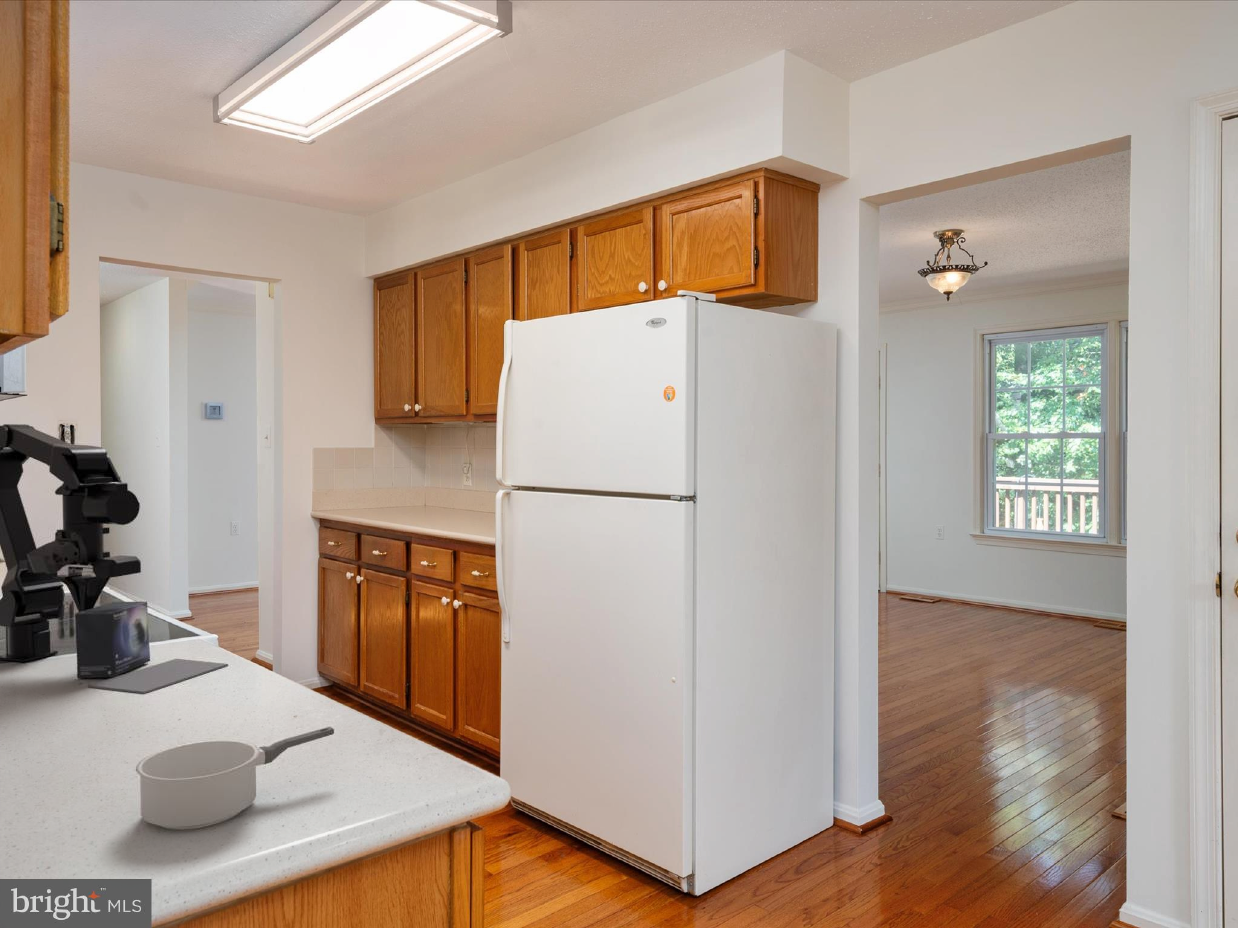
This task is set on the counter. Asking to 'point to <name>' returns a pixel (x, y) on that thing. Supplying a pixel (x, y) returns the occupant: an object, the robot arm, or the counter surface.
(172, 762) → the saucepan
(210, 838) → the counter surface
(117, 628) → the small box
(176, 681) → the mat
